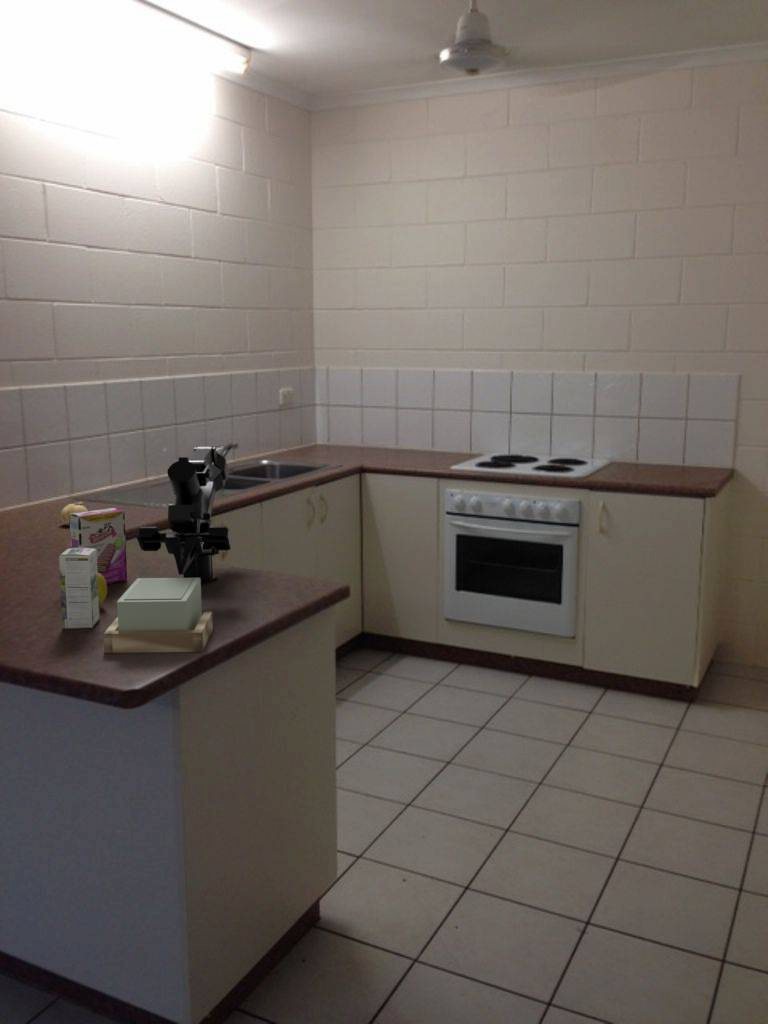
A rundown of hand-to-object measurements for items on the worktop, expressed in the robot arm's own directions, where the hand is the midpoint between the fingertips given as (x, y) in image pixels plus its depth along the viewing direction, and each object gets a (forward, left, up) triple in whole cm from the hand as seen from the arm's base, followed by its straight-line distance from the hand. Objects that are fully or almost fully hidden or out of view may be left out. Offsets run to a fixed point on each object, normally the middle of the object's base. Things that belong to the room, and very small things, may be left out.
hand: (180, 573), depth 187 cm
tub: (+16, +9, -7) cm, 20 cm away
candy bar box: (-6, -28, -7) cm, 30 cm away
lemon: (+9, -15, -7) cm, 19 cm away
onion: (-51, -83, -7) cm, 98 cm away
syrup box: (+18, -9, -7) cm, 22 cm away
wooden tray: (+19, +11, -7) cm, 23 cm away
